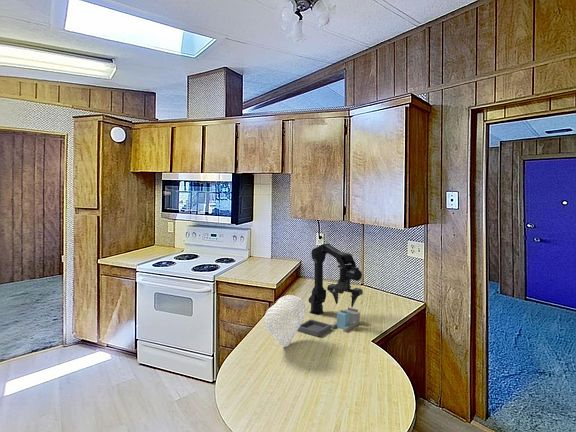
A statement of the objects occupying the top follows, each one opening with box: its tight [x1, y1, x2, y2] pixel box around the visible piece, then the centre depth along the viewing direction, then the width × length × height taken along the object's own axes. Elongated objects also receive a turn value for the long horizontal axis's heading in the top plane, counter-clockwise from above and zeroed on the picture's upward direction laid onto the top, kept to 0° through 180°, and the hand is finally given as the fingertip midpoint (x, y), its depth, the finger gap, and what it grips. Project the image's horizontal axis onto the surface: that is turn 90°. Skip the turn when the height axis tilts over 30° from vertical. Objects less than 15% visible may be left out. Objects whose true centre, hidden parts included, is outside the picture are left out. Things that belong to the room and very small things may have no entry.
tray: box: [297, 318, 332, 338], centre depth 182 cm, size 13×13×3 cm
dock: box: [330, 307, 361, 333], centre depth 190 cm, size 9×18×7 cm, turn 143°
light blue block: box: [336, 309, 350, 330], centre depth 187 cm, size 5×6×9 cm
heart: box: [264, 294, 307, 348], centre depth 162 cm, size 28×16×22 cm, turn 164°
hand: (344, 305), depth 187 cm, fingers open, 9 cm apart
